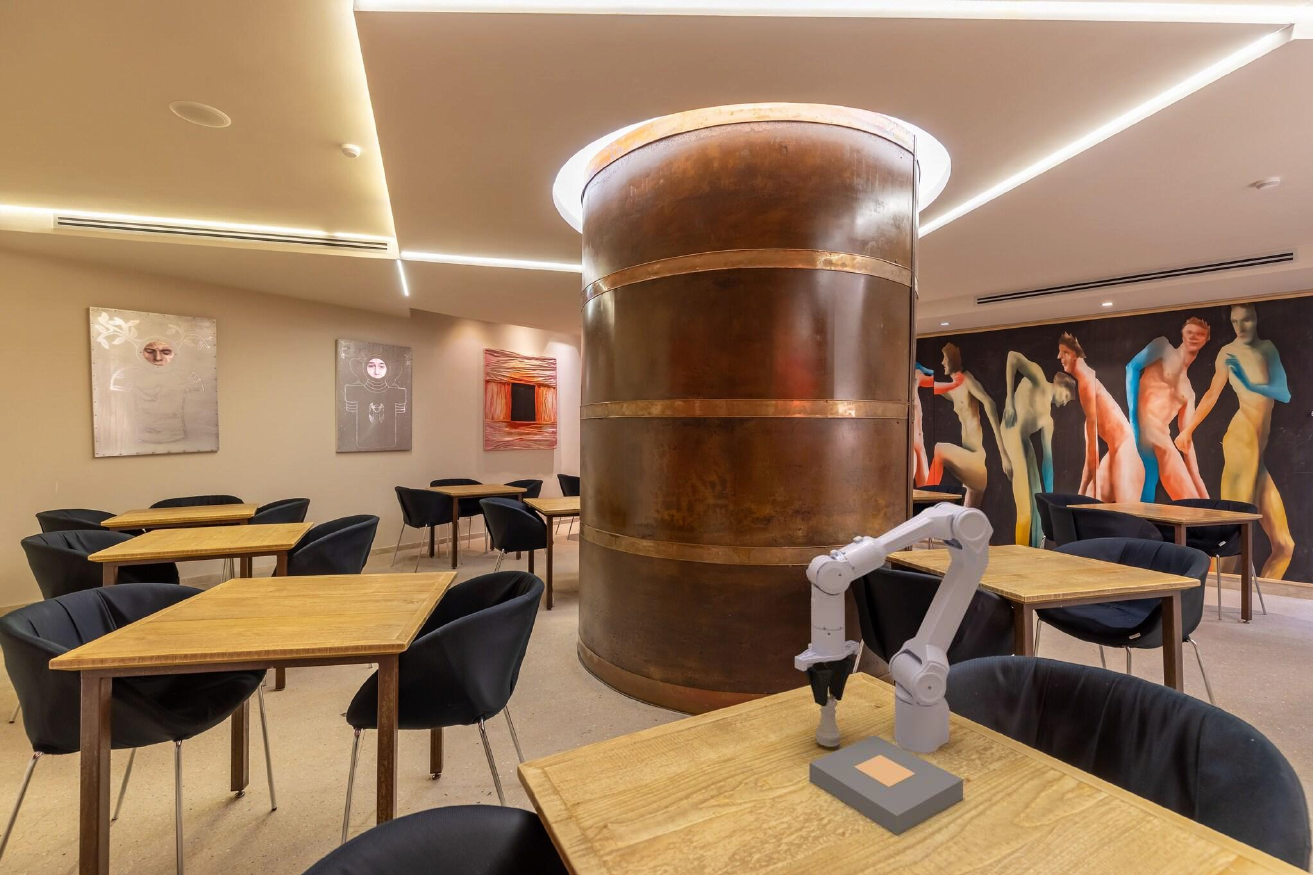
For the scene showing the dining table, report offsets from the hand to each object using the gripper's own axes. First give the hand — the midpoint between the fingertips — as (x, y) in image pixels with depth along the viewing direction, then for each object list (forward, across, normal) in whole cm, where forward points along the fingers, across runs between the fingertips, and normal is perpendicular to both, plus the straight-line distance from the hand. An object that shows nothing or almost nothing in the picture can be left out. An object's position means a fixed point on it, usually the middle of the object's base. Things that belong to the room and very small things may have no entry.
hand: (828, 701), depth 108 cm
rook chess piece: (+7, 0, 0) cm, 7 cm away
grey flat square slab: (+8, +3, +14) cm, 16 cm away
